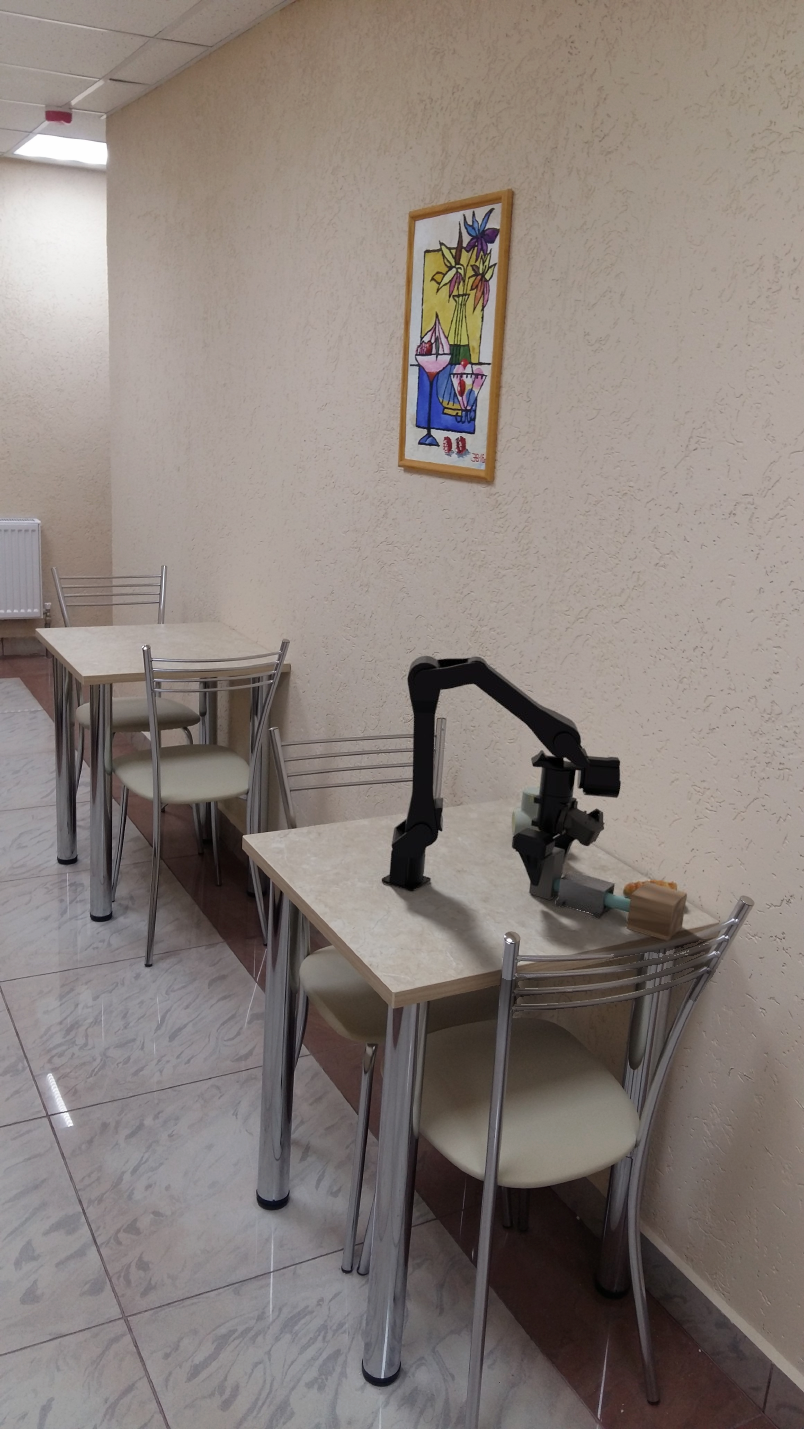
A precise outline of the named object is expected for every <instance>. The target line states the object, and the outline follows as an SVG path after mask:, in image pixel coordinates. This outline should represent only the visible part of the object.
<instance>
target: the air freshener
mask: <svg viewBox="0 0 804 1429" xmlns="http://www.w3.org/2000/svg"><path fill="white" fill-rule="evenodd" d="M539 789H540V786H533V785H532V786H526V787H525V788H523V789H522V794H521V803H520V804H521V805H520V807H518V808H516V809H514V810H513V811H512V813H511V833H512V835H513V836H514V835H516V834H517V833H519V832H521V831H522V830H524V829H526V828H530V829H533V830H537V831H538V827H535V826H531V822H532V820H533V819H534V818H536V816H537V807H538V804H537V803H534V797H535V796H537V795H539Z"/></svg>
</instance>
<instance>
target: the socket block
mask: <svg viewBox="0 0 804 1429" xmlns="http://www.w3.org/2000/svg"><path fill="white" fill-rule="evenodd" d="M687 894H688V893H687V892H684V891H683V890H682V891H681V890H678V889H677V890H674V889H671V888H667V887H664V886H660V885H657V884H653V883H650V882H645V883H644V884H643V885H642V886H641V887H639V888H638V889H637V890H636V891H634V892H633V893H632V894H631V899H630V907H629V913H627V914H628V916H627V924H626V929H628V930H631V931H635V932H638V933H641V934H645V935H647V936H652V937H654V938H658V939H661V940H665V941H669V940H670V939H671V938H672V937H673V936H674V935H675V934H676V933H678V931H679V930H680V929H682V927H683V924H684V923H683V922H684V917H685V916H684V915H685V909H686V902H687V896H688V895H687Z"/></svg>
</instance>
